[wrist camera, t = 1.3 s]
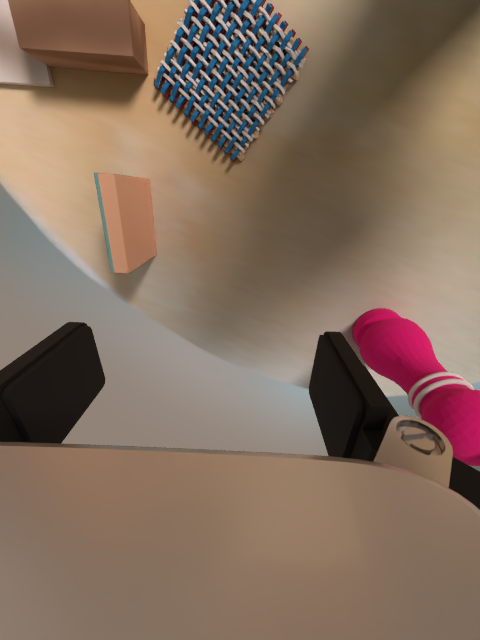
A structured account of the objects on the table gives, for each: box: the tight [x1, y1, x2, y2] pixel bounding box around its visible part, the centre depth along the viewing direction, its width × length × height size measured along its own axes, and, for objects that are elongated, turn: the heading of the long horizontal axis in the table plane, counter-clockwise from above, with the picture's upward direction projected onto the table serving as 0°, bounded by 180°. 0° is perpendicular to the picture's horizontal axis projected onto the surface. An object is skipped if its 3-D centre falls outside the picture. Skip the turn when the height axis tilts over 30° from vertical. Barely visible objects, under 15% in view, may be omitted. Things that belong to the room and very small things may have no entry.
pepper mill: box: [353, 309, 480, 466], centre depth 25 cm, size 7×7×20 cm
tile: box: [94, 173, 157, 273], centre depth 25 cm, size 8×2×8 cm, turn 176°
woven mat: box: [154, 0, 309, 162], centre depth 22 cm, size 10×11×2 cm
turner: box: [0, 0, 148, 87], centre depth 21 cm, size 6×15×4 cm, turn 86°
